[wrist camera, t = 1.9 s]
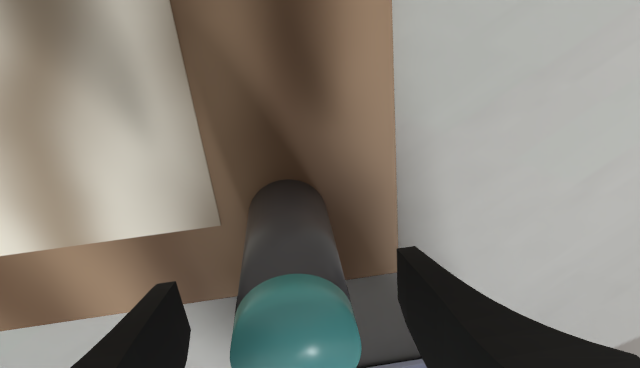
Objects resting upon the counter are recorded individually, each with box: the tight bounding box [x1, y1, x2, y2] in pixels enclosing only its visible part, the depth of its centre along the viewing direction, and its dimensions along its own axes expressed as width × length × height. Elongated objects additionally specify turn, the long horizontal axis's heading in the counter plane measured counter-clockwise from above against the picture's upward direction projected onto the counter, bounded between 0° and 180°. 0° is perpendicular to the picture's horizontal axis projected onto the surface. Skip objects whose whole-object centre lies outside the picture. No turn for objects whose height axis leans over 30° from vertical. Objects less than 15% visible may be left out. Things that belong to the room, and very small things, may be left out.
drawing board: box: [0, 0, 398, 331], centre depth 16 cm, size 20×18×1 cm
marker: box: [230, 179, 361, 368], centre depth 14 cm, size 4×4×8 cm
